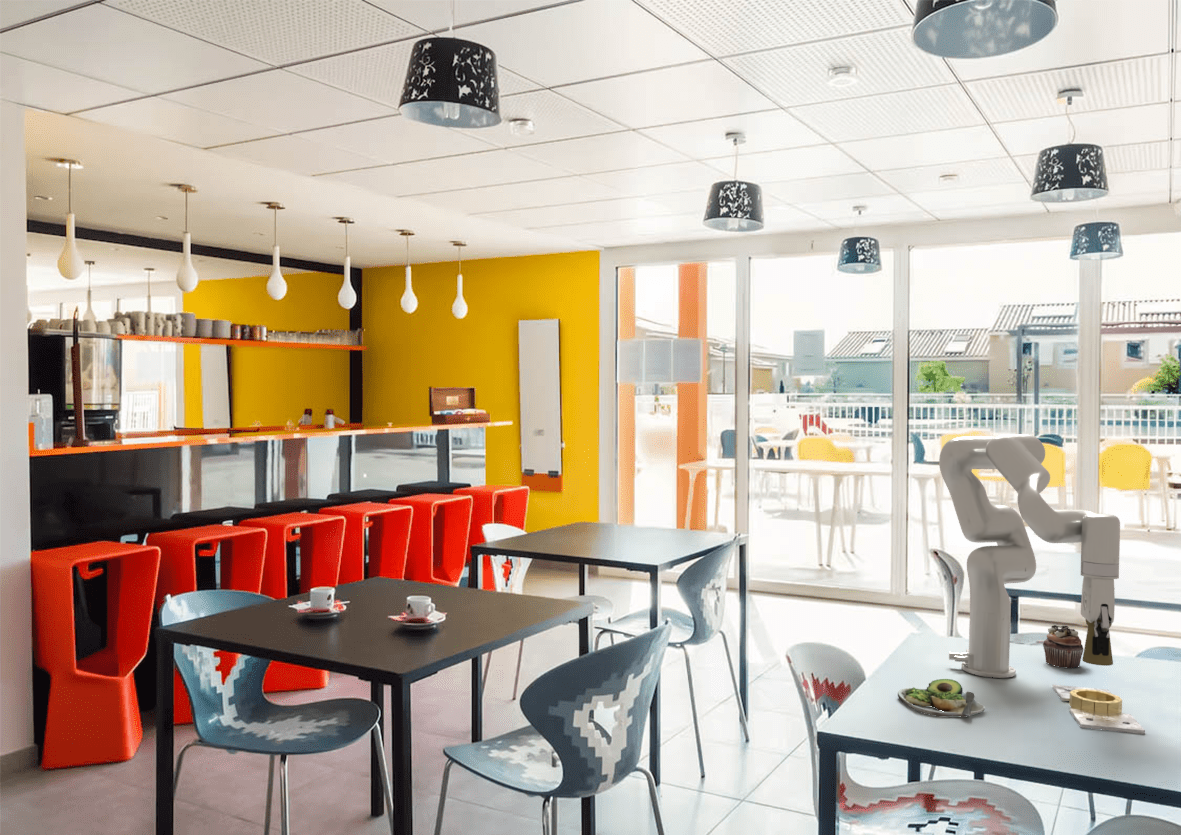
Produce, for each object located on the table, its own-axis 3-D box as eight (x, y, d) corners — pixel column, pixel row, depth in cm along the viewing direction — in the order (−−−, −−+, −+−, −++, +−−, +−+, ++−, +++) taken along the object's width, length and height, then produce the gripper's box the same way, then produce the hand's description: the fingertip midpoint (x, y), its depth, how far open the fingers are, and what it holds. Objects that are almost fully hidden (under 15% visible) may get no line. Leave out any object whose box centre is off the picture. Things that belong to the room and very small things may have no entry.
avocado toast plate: (1005, 724, 204) (1006, 702, 204) (921, 723, 204) (922, 701, 204) (966, 696, 224) (967, 676, 224) (890, 695, 223) (890, 675, 223)
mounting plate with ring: (1080, 727, 202) (1081, 713, 202) (1052, 687, 231) (1052, 675, 231) (1145, 734, 199) (1145, 719, 199) (1107, 693, 228) (1108, 680, 228)
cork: (1112, 667, 210) (1113, 616, 210) (1081, 662, 213) (1082, 612, 213) (1114, 661, 215) (1115, 611, 215) (1083, 657, 219) (1084, 608, 218)
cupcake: (1091, 668, 249) (1093, 629, 249) (1058, 669, 247) (1060, 630, 247) (1066, 658, 259) (1067, 621, 259) (1034, 660, 257) (1035, 622, 257)
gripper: (1072, 563, 223) (1070, 642, 223) (1089, 574, 207) (1087, 660, 207) (1108, 565, 221) (1106, 645, 222) (1128, 577, 205) (1126, 663, 205)
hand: (1097, 651), depth 214 cm, fingers closed on cork, 4 cm apart
